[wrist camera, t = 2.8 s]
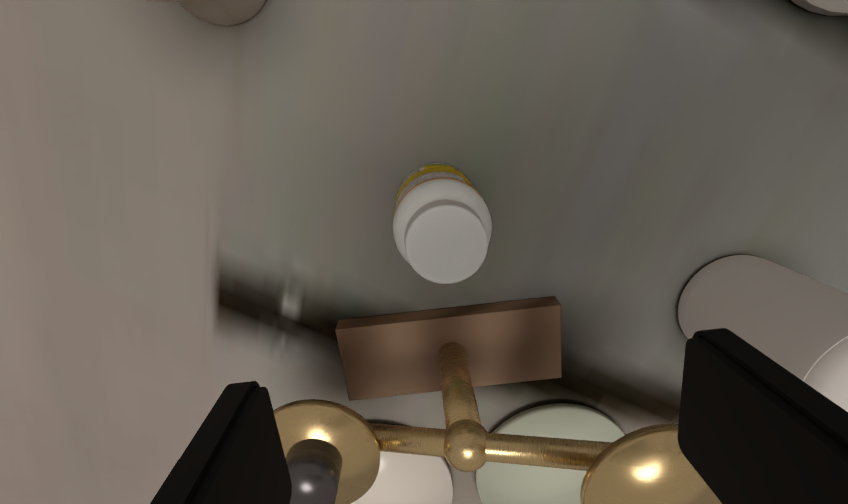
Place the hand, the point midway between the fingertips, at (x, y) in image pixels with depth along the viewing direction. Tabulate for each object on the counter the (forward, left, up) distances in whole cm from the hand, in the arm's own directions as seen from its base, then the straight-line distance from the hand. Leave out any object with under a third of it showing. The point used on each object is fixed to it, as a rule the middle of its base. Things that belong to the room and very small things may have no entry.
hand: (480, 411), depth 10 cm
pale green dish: (-8, +23, -21) cm, 33 cm away
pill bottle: (-21, +10, -22) cm, 32 cm away
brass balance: (0, +11, -21) cm, 24 cm away
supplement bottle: (0, 0, -22) cm, 22 cm away
